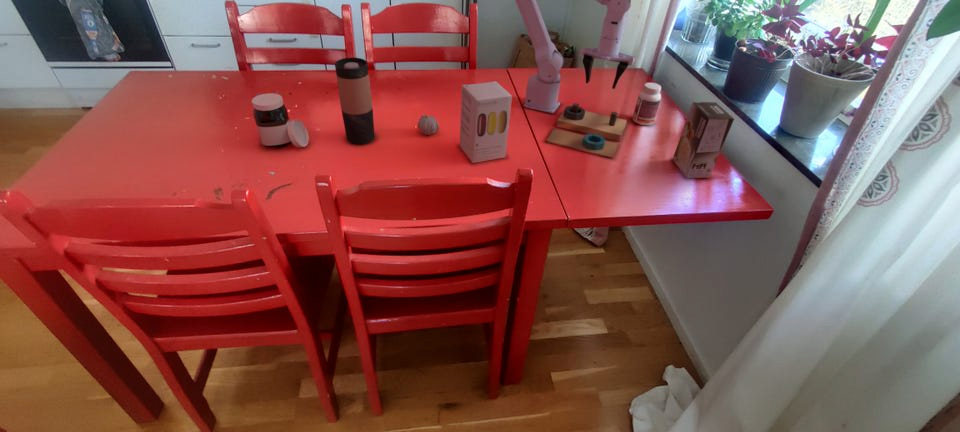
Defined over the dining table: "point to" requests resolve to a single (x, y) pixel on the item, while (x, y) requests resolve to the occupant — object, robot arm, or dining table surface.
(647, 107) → the pill bottle
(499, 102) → the supplement box
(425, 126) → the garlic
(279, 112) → the spread jar
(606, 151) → the cork mat
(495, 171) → the dining table surface
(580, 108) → the charcoal ring
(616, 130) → the peg board
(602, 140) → the teal ring
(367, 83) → the travel mug
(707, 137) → the coffee box
